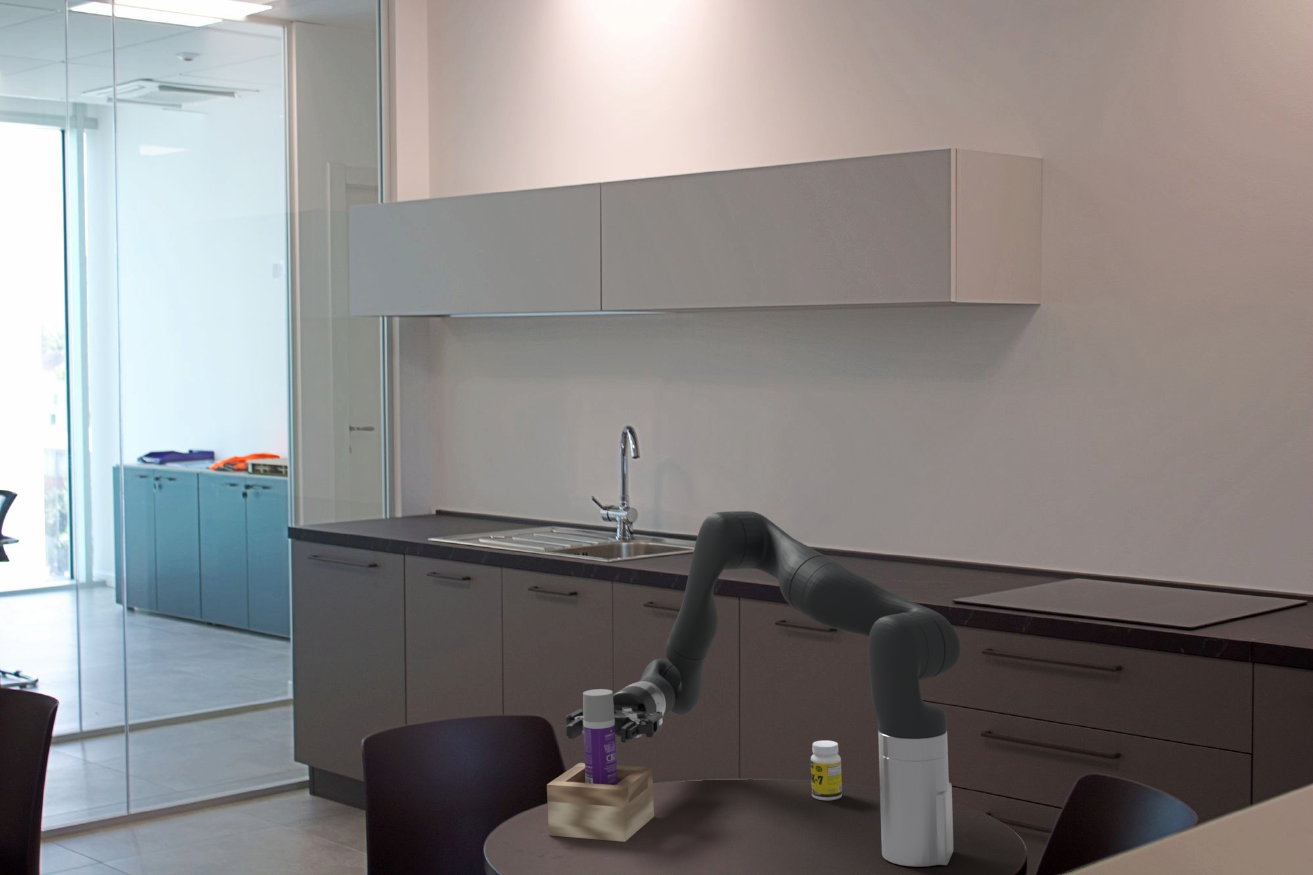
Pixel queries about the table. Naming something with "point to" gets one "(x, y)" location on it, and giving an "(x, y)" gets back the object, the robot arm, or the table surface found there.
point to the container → (599, 737)
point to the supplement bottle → (826, 771)
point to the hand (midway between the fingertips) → (596, 734)
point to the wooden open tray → (600, 804)
